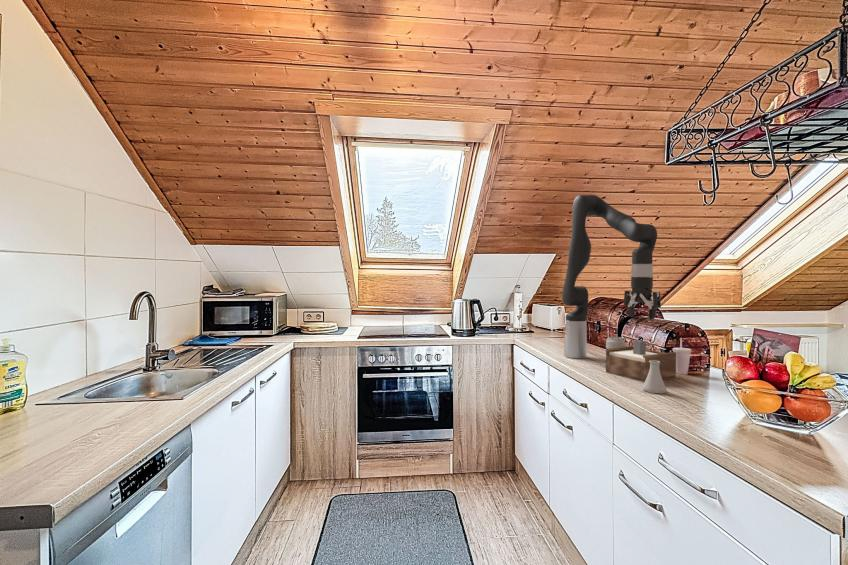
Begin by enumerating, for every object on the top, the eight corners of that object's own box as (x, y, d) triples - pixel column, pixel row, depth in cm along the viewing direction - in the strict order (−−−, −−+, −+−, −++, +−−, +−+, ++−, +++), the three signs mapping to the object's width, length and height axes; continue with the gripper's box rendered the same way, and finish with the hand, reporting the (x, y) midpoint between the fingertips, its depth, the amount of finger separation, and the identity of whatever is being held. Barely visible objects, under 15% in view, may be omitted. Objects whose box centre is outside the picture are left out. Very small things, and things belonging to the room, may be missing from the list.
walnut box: (605, 372, 170) (605, 348, 170) (634, 368, 176) (634, 345, 176) (645, 382, 153) (645, 356, 153) (675, 378, 160) (676, 352, 160)
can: (605, 366, 181) (606, 338, 181) (605, 362, 188) (605, 335, 187) (625, 367, 178) (625, 338, 178) (624, 364, 185) (624, 336, 185)
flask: (671, 394, 139) (671, 363, 139) (649, 394, 139) (649, 363, 138) (659, 388, 146) (659, 359, 146) (638, 388, 146) (638, 359, 146)
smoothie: (668, 372, 169) (668, 337, 168) (679, 371, 171) (679, 336, 171) (684, 376, 163) (684, 339, 163) (695, 374, 166) (695, 338, 165)
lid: (608, 354, 170) (609, 339, 169) (633, 352, 175) (633, 336, 175) (646, 362, 154) (646, 345, 154) (671, 359, 160) (671, 342, 159)
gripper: (619, 275, 169) (619, 316, 170) (651, 276, 156) (651, 320, 157) (632, 275, 172) (632, 315, 173) (665, 276, 159) (665, 319, 160)
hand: (641, 318), depth 165 cm, fingers open, 8 cm apart
